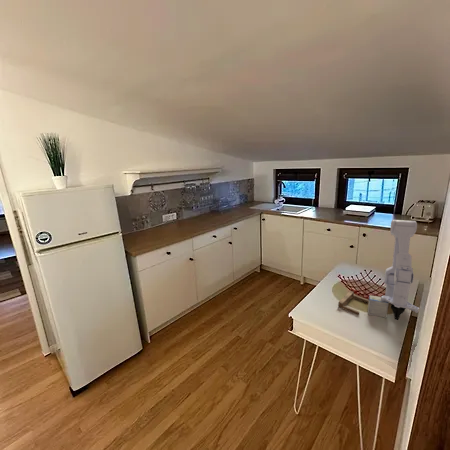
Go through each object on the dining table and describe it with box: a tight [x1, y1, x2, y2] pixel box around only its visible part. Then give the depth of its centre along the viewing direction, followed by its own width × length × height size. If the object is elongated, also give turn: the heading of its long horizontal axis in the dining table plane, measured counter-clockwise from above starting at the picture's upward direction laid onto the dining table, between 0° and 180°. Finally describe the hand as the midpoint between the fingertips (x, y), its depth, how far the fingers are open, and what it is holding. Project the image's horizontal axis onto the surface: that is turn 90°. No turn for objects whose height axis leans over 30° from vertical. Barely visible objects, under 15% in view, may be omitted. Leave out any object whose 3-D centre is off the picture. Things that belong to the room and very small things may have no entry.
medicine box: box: [367, 294, 390, 319], centre depth 124 cm, size 8×4×9 cm, turn 65°
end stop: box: [337, 290, 369, 316], centre depth 133 cm, size 14×10×3 cm
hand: (396, 318), depth 119 cm, fingers closed
